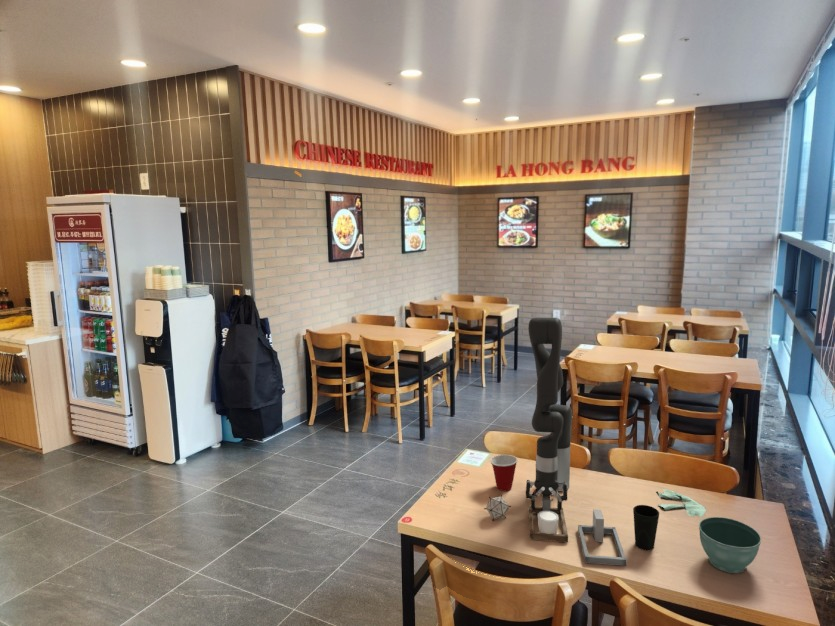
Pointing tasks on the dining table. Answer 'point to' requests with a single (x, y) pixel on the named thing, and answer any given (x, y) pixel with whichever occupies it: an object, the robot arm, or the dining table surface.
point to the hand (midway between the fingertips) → (546, 509)
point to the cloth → (690, 508)
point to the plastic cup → (504, 471)
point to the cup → (645, 526)
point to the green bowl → (729, 543)
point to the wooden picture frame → (543, 536)
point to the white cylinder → (548, 522)
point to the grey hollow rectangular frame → (598, 533)
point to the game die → (497, 507)
